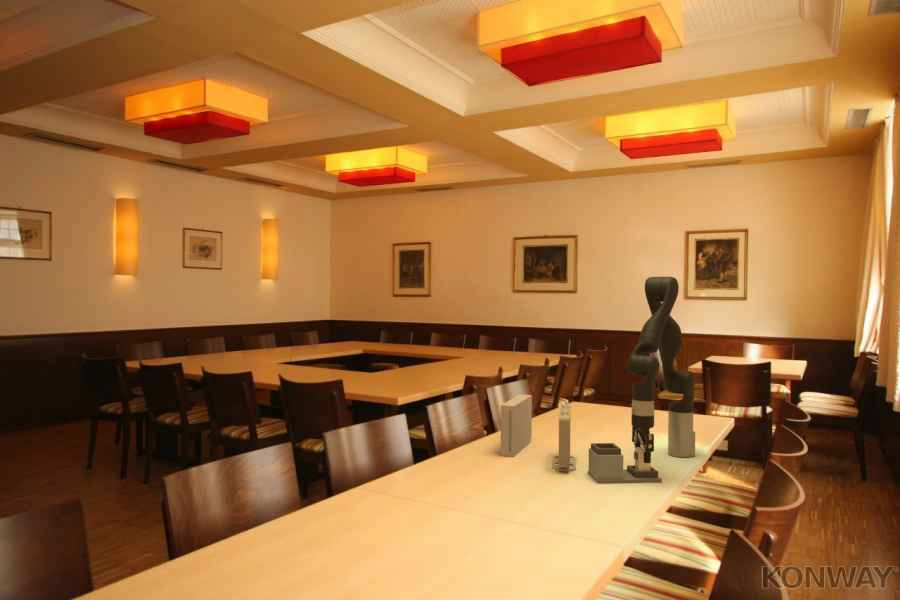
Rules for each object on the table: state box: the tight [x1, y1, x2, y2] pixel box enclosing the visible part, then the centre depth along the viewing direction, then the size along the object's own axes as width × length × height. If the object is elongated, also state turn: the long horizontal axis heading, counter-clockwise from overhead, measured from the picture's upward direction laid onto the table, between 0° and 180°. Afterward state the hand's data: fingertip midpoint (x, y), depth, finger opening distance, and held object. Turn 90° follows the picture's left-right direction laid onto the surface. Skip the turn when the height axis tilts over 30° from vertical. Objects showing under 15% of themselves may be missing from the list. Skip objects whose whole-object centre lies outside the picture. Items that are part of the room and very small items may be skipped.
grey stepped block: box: [587, 442, 663, 484], centre depth 215 cm, size 22×12×11 cm, turn 94°
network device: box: [550, 404, 577, 472], centre depth 232 cm, size 26×9×20 cm, turn 168°
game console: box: [500, 393, 533, 458], centre depth 254 cm, size 6×27×20 cm, turn 158°
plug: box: [633, 446, 651, 471], centre depth 215 cm, size 5×4×9 cm
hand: (642, 459), depth 215 cm, fingers open, 8 cm apart
